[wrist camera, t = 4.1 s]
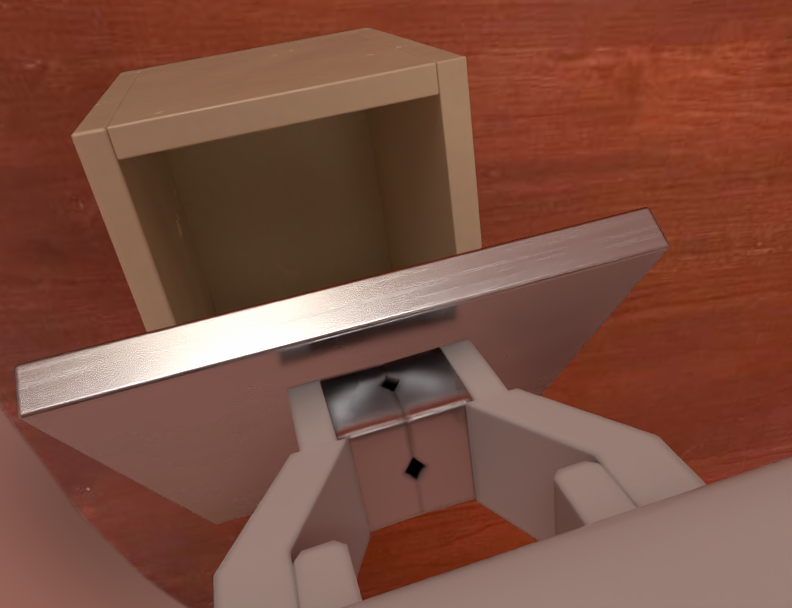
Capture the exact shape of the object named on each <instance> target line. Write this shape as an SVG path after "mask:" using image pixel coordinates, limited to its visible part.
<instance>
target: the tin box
mask: <svg viewBox="0 0 792 608" xmlns="http://www.w3.org/2000/svg"><path fill="white" fill-rule="evenodd" d="M71 138H72V141H73V143H74V146H75V148H76V151H77V153H78V156H79V159H80V161H81V164H82V166H83V169H84V172H85V174H86V177H87V179H88V182H89V184H90V187H91V190H92V192H93V195H94V197H95V200H96V203H97V205H98V208H99V210H100V213H101V215H102V218H103V221H104V223H105V226H106V228H107V231H108V233H109V236H110V239H111V241H112V244H113V246H114V249H115V252H116V254H117V257H118V259H119V262H120V264H121V267H122V270H123V272H124V275H125V277H126V280H127V283H128V285H129V288H130V290H131V293H132V295H133V298H134V301H135V303H136V306H137V308H138V311H139V313H140V316H141V319H142V321H143V324H144V326H145V329H146V332H149V331H153V330H157V329H161V328H165V327H169V326H173V325H177V324H181V323H185V322H189V321H193V320H197V319H201V318H205V317H209V316H213V315H217V314H221V313H225V312H229V311H233V310H237V309H241V308H245V307H249V306H253V305H257V304H261V303H265V302H269V301H273V300H277V299H281V298H285V297H289V296H293V295H297V294H301V293H305V292H309V291H313V290H317V289H321V288H325V287H329V286H333V285H337V284H341V283H345V282H349V281H353V280H357V279H361V278H365V277H369V276H373V275H377V274H381V273H385V272H388V271H392V270H396V269H400V268H404V267H408V266H412V265H416V264H420V263H424V262H428V261H432V260H436V259H440V258H444V257H448V256H452V255H456V254H460V253H464V252H468V251H472V250H476V249H480V248H482V242H481V230H480V218H479V206H478V194H477V182H476V170H475V159H474V147H473V135H472V123H471V111H470V99H469V87H468V75H467V64H466V57H464V56H461V55H458V54H455V53H451V52H448V51H445V50H441V49H438V48H435V47H431V46H428V45H425V44H422V43H418V42H415V41H412V40H408V39H405V38H402V37H398V36H395V35H392V34H388V33H385V32H382V31H379V30H375V29H371V28H361V29H356V30H351V31H345V32H340V33H334V34H329V35H323V36H318V37H312V38H307V39H302V40H296V41H291V42H285V43H280V44H274V45H269V46H264V47H258V48H253V49H247V50H242V51H236V52H231V53H225V54H220V55H215V56H209V57H204V58H198V59H193V60H187V61H182V62H177V63H171V64H166V65H160V66H155V67H149V68H144V69H138V70H133V71H128V72H122V73H120V74H119V75H118V77H117V78H116V79H115V81H114V82H113V83H112V84H111V86H110V87H109V88H108V89H107V91H106V92H105V93H104V94H103V96H102V97H101V98H100V99H99V101H98V102H97V103H96V105H95V106H94V107H93V108H92V110H91V111H90V112H89V113H88V115H87V116H86V117H85V118H84V120H83V121H82V122H81V123H80V125H79V126H78V127H77V128H76V130H75V131H74V132H73V133H72V137H71Z"/></svg>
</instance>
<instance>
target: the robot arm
mask: <svg viewBox="0 0 792 608" xmlns="http://www.w3.org/2000/svg"><path fill="white" fill-rule="evenodd" d="M319 380H320V382H319V381H318V380H317V379H316V380H313V381H309V382H306V383H302V384H299V385H295V386H292V387H288V388H287V394H288V399H289V404H290V409H291V413H292V418H293V423H294V428H295V432H296V437H297V442H298V447H299V452H296V453H293V454H290V456H289V457H288V459H287V460H286V462H285V463H284V465H283V467H282V468H281V470H280V471H279V473H278V475H277V476H276V478H275V479H274V481H273V482H272V484H271V486H270V487H269V489H268V490H267V492H266V493H265V495H264V497H263V498H262V500H261V501H260V503H259V505H258V506H257V508H256V509H255V511H254V512H253V514H252V516H251V517H250V519H249V520H248V522H247V523H246V525H245V527H244V528H243V530H242V531H241V533H240V535H239V536H238V538H237V539H236V541H235V542H234V544H233V546H232V547H231V549H230V550H229V552H228V553H227V555H226V557H225V558H224V560H223V561H222V563H221V565H220V566H219V568H218V569H217V571H216V572H215V574H214V608H792V457H789V458H786V459H783V460H780V461H777V462H774V463H771V464H768V465H765V466H762V467H759V468H756V469H753V470H750V471H747V472H744V473H741V474H738V475H735V476H732V477H729V478H726V479H723V480H720V481H717V482H714V483H711V484H708V485H706V484H705V483H704V482H703V481H702V480H701V479H700V478H699V477H698V476H697V475H696V474H695V473H694V472H693V471H692V470H691V469H690V468H689V467H688V466H687V465H686V464H685V463H684V462H683V461H682V460H681V459H680V458H679V457H678V456H677V455H676V454H675V453H674V452H673V450H672V449H671V448H670V447H669V446H668V445H667V444H666V443H665V442H664V441H663V440H662V439H661V438H660V437H659V436H657V435H654V434H651V433H648V432H645V431H642V430H639V429H636V428H633V427H630V426H627V425H624V424H621V423H618V422H615V421H612V420H610V419H607V418H604V417H601V416H598V415H595V414H592V413H589V412H586V411H583V410H580V409H577V408H574V407H571V406H568V405H565V404H562V403H559V402H556V401H553V400H550V399H547V398H545V397H542V396H539V395H536V394H533V393H530V392H527V391H524V390H521V389H518V388H516V389H512V390H508V389H507V388H506V386H505V385H504V384H503V382H502V381H501V380H500V379H499V377H498V376H497V375H496V373H495V372H494V371H493V369H492V368H491V367H490V365H489V364H488V363H487V361H486V360H485V359H484V358H483V356H482V355H481V354H480V352H479V351H478V350H477V348H476V347H475V346H474V344H473V343H472V342H471V340H469V339H466V338H465V339H462V340H459V341H455V342H452V343H449V344H446V345H443V346H439V347H437V348H434V349H431V350H428V351H424V352H421V353H417V354H414V355H411V356H407V357H404V358H400V359H397V360H394V361H390V362H387V363H384V364H377V365H373V366H369V367H365V368H361V369H357V370H353V371H349V372H345V373H341V374H337V375H333V376H329V377H325V378H321V379H319ZM473 499H476V501H477V502H479V503H480V504H482V505H483V506H485V507H486V508H488V509H489V510H491V511H493V512H494V513H496V514H497V515H499V516H500V517H502V518H503V519H505V520H507V521H508V522H510V523H511V524H513V525H514V526H516V527H517V528H519V529H521V530H522V531H524V532H525V533H527V534H528V535H530V536H532V537H533V538H535V539H536V540H538V542H535V543H532V544H529V545H526V546H523V547H520V548H517V549H514V550H511V551H508V552H505V553H502V554H499V555H496V556H493V557H490V558H487V559H484V560H481V561H478V562H475V563H472V564H469V565H466V566H464V567H461V568H458V569H455V570H452V571H449V572H446V573H443V574H440V575H437V576H434V577H431V578H428V579H425V580H422V581H419V582H416V583H413V584H410V585H407V586H404V587H401V588H398V589H395V590H392V591H389V592H386V593H383V594H381V595H378V596H375V597H372V598H369V599H366V600H363V601H362V598H361V594H360V590H359V587H358V583H357V577H358V574H359V571H360V567H361V564H362V561H363V558H364V555H365V552H366V549H367V546H368V542H369V539H370V536H371V534H370V532H372V531H375V530H378V529H381V528H384V527H386V526H389V525H392V524H395V523H398V522H401V521H404V520H407V519H409V518H412V517H415V516H418V515H421V514H424V513H428V512H431V511H435V510H438V509H441V508H445V507H448V506H452V505H455V504H459V503H462V502H466V501H469V500H473Z"/></svg>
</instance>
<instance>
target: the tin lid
mask: <svg viewBox="0 0 792 608" xmlns="http://www.w3.org/2000/svg"><path fill="white" fill-rule="evenodd" d="M668 248H669V244H668V242H667V240H666V238H665V236H664V234H663V232H662V231H661V229H660V227H659V225H658V223H657V222H656V220H655V218H654V216H653V214H652V212H651V211H650V209H649V208H648V207H644V208H640V209H636V210H632V211H628V212H624V213H620V214H616V215H612V216H608V217H604V218H600V219H596V220H592V221H588V222H584V223H580V224H576V225H572V226H568V227H564V228H560V229H556V230H552V231H548V232H544V233H540V234H536V235H532V236H528V237H524V238H520V239H516V240H512V241H508V242H504V243H500V244H496V245H492V246H488V247H484V248H480V249H476V250H472V251H468V252H464V253H460V254H456V255H452V256H448V257H444V258H440V259H436V260H432V261H428V262H424V263H420V264H416V265H412V266H408V267H404V268H400V269H396V270H392V271H388V272H385V273H381V274H377V275H373V276H369V277H365V278H361V279H357V280H353V281H349V282H345V283H341V284H337V285H333V286H329V287H325V288H321V289H317V290H313V291H309V292H305V293H301V294H297V295H293V296H289V297H285V298H281V299H277V300H273V301H269V302H265V303H261V304H257V305H253V306H249V307H245V308H241V309H237V310H233V311H229V312H225V313H221V314H217V315H213V316H209V317H205V318H201V319H197V320H193V321H189V322H185V323H181V324H177V325H173V326H169V327H165V328H161V329H157V330H153V331H149V332H145V333H141V334H137V335H133V336H129V337H125V338H121V339H117V340H113V341H109V342H105V343H101V344H97V345H93V346H89V347H85V348H81V349H77V350H73V351H69V352H65V353H61V354H57V355H54V356H50V357H46V358H42V359H38V360H34V361H30V362H26V363H22V364H18V365H16V366H15V369H14V372H15V386H16V400H17V414H18V417H19V419H20V420H22V421H24V422H26V423H27V424H29V425H31V426H33V427H35V428H37V429H39V430H40V431H42V432H44V433H46V434H48V435H50V436H52V437H53V438H55V439H57V440H59V441H61V442H63V443H65V444H66V445H68V446H70V447H72V448H74V449H76V450H78V451H79V452H81V453H83V454H85V455H87V456H89V457H91V458H92V459H94V460H96V461H98V462H100V463H102V464H104V465H105V466H107V467H109V468H111V469H113V470H115V471H117V472H118V473H120V474H122V475H124V476H126V477H128V478H130V479H131V480H133V481H135V482H137V483H139V484H141V485H143V486H144V487H146V488H148V489H150V490H152V491H154V492H156V493H157V494H159V495H161V496H163V497H165V498H167V499H169V500H170V501H172V502H174V503H176V504H178V505H180V506H182V507H183V508H185V509H187V510H189V511H191V512H193V513H195V514H196V515H198V516H200V517H202V518H204V519H206V520H208V521H209V522H211V523H213V524H220V523H223V522H226V521H230V520H233V519H236V518H240V517H243V516H246V515H249V514H253V512H254V511H255V509H256V508H257V506H258V505H259V503H260V501H261V500H262V498H263V497H264V495H265V493H266V492H267V490H268V489H269V487H270V486H271V484H272V482H273V481H274V479H275V478H276V476H277V475H278V473H279V471H280V470H281V468H282V467H283V465H284V463H285V462H286V460H287V459H288V457H289V456H290V454H293V453H296V452H299V447H298V442H297V437H296V432H295V428H294V423H293V418H292V413H291V409H290V404H289V399H288V394H287V388H288V387H292V386H295V385H299V384H302V383H306V382H309V381H313V380H316V379H317V380H318V381H319V382H320V380H319V379H321V378H325V377H329V376H333V375H337V374H341V373H345V372H349V371H353V370H357V369H361V368H365V367H369V366H373V365H377V364H384V363H387V362H390V361H394V360H397V359H400V358H404V357H407V356H411V355H414V354H417V353H421V352H424V351H428V350H431V349H434V348H437V347H439V346H443V345H446V344H449V343H452V342H455V341H459V340H462V339H465V338H466V339H469V340H471V342H472V343H473V344H474V346H475V347H476V348H477V350H478V351H479V352H480V354H481V355H482V356H483V358H484V359H485V360H486V361H487V363H488V364H489V365H490V367H491V368H492V369H493V371H494V372H495V373H496V375H497V376H498V377H499V379H500V380H501V381H502V382H503V384H504V385H505V386H506V388H507V389H508V390H512V389H516V388H518V389H521V390H524V391H527V392H530V393H533V394H536V395H539V396H541V395H542V393H543V392H544V391H545V390H546V389H547V388H548V387H549V385H550V384H551V383H552V382H553V381H554V380H555V378H556V377H557V376H558V375H559V374H560V373H561V372H562V370H563V369H564V368H565V367H566V366H567V365H568V363H569V362H570V361H571V360H572V359H573V358H574V356H575V355H576V354H577V353H578V352H579V351H580V350H581V348H582V347H583V346H584V345H585V344H586V343H587V341H588V340H589V339H590V338H591V337H592V336H593V335H594V333H595V332H596V331H597V330H598V329H599V328H600V326H601V325H602V324H603V323H604V322H605V321H606V320H607V318H608V317H609V316H610V315H611V314H612V313H613V311H614V310H615V309H616V308H617V307H618V306H619V305H620V303H621V302H622V301H623V300H624V299H625V298H626V296H627V295H628V294H629V293H630V292H631V291H632V289H633V288H634V287H635V286H636V285H637V284H638V283H639V281H640V280H641V279H642V278H643V277H644V276H645V274H646V273H647V272H648V271H649V270H650V269H651V268H652V266H653V265H654V264H655V263H656V262H657V261H658V259H659V258H660V257H661V256H662V255H663V254H664V253H665V251H666V250H667V249H668Z"/></svg>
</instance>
